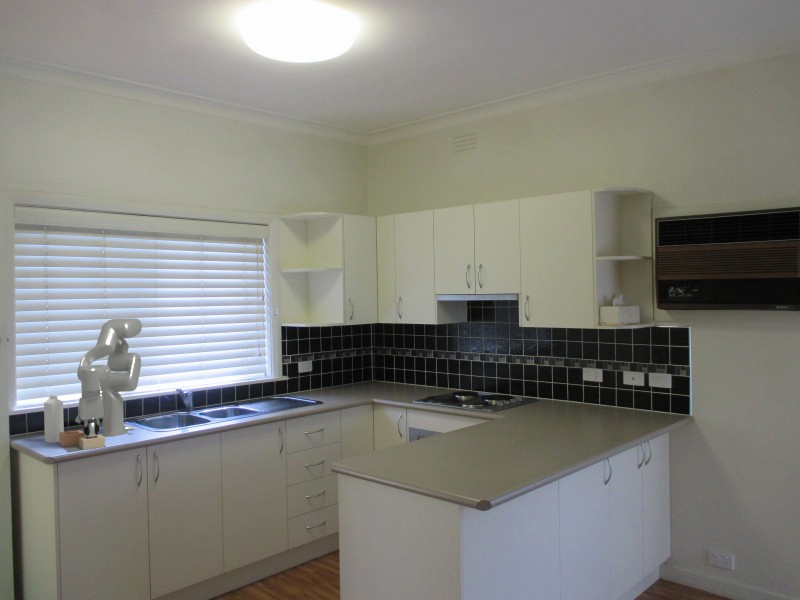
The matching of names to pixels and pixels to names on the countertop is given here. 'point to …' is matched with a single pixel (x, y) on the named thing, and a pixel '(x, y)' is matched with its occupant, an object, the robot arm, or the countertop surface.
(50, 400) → the milk
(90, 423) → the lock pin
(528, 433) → the countertop surface
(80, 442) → the board
